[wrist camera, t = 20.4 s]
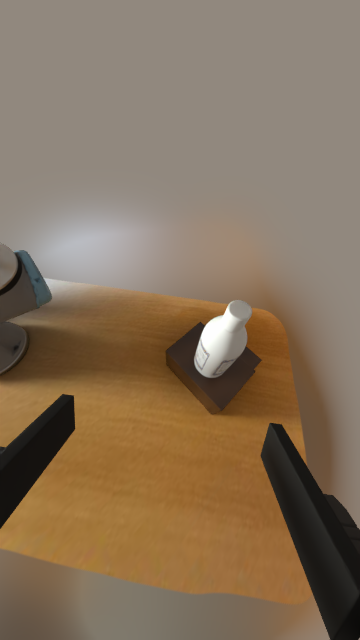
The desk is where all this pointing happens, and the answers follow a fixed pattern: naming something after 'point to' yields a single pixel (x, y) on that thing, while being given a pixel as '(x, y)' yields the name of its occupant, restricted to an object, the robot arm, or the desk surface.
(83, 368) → the desk surface
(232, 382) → the stepped brown block
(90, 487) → the desk surface
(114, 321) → the desk surface
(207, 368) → the bath foam
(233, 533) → the desk surface
